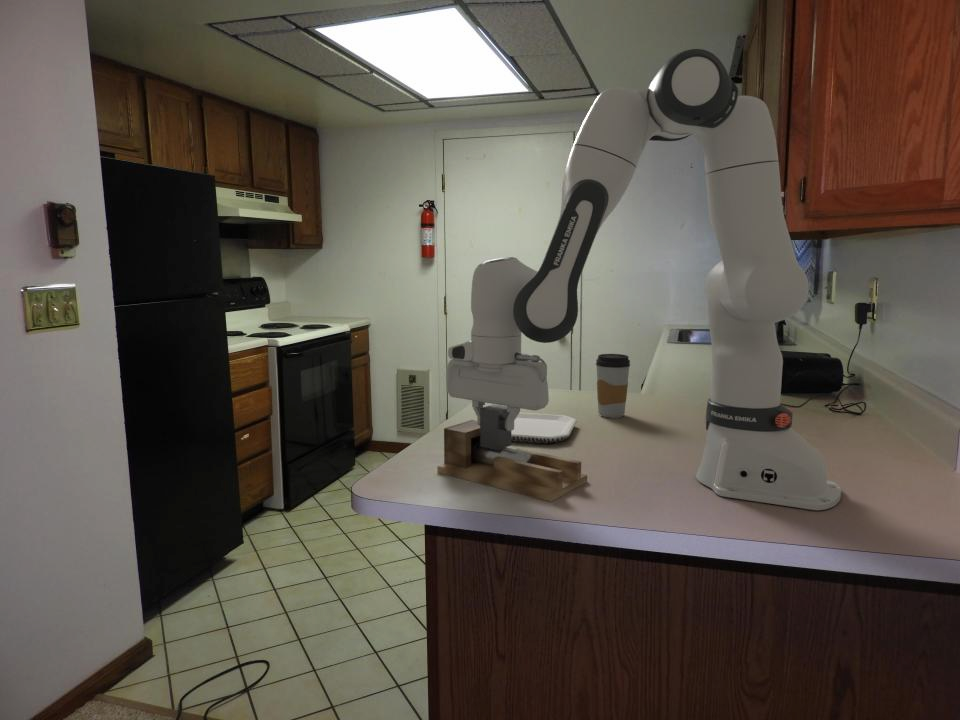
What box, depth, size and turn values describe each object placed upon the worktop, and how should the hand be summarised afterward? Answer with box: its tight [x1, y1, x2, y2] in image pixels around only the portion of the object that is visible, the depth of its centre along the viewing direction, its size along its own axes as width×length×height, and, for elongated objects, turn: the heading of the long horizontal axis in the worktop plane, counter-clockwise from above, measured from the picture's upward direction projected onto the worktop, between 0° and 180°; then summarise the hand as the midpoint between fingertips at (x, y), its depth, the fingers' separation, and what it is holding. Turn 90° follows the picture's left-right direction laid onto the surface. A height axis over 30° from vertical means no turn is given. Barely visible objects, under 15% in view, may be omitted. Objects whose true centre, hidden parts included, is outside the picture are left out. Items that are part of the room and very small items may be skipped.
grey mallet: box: [471, 404, 534, 465], centre depth 116 cm, size 14×4×11 cm, turn 52°
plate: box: [511, 412, 578, 444], centre depth 146 cm, size 21×21×2 cm
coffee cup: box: [595, 353, 631, 419], centre depth 160 cm, size 8×8×15 cm
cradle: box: [437, 419, 588, 503], centre depth 114 cm, size 24×12×8 cm, turn 52°
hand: (495, 427), depth 116 cm, fingers closed on grey mallet, 4 cm apart
